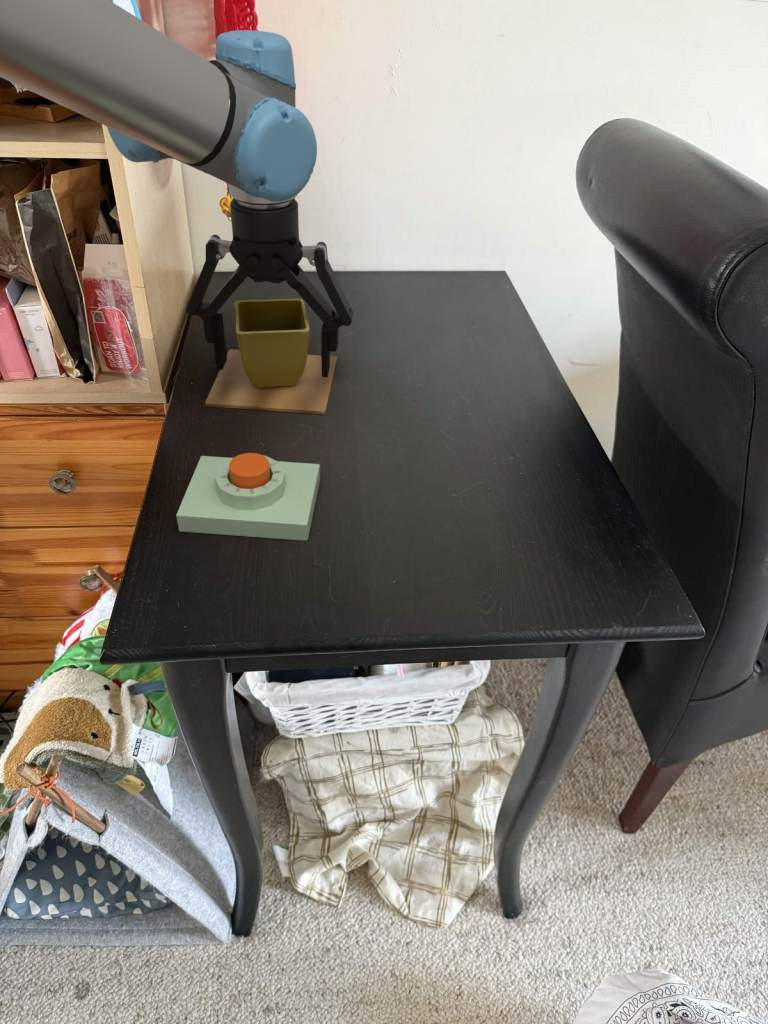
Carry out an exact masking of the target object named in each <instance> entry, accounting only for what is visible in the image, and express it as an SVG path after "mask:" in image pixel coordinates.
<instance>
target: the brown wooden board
mask: <svg viewBox="0 0 768 1024" xmlns="http://www.w3.org/2000/svg"><path fill="white" fill-rule="evenodd" d="M226 354H227V361H226V363H225V365H224V368H223V370H218V374H217V376H216V378H215V380H214V383H213V385H212V387H211V389H210V391H209V393H208V396H207V398H206V400H205V401H204V405H205V407H211V408H225V409H236V410H237V409H238V410H239V409H240V410H252V411H264V412H265V411H268V412H278V413H279V412H280V413H281V412H282V413H293V414H308V415H310V414H311V415H326V413H327V408H328V404H329V400H330V399H329V398H330V395H331V391H332V386H333V381H334V377H335V372H336V367H337V363H338V356H335V355H334V356H333V355H330V369H329V373H328V377H322V359H321V355H319V354H318V355H317V354H307V360H306V365H305V369H304V371H303V374H302V376H301V377H300V379H299V380H298V382H297V383H296V384H295V385H294V386H280V387H261V388H259V387H256V386H255V385H254V384H253V383H252V382H251V381H250V379H249V378H248V376H247V374H246V372H245V370H244V367H243V364H242V360H241V355H240V350H239V349H231V348H229V350H228V352H227V353H226Z"/></svg>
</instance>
